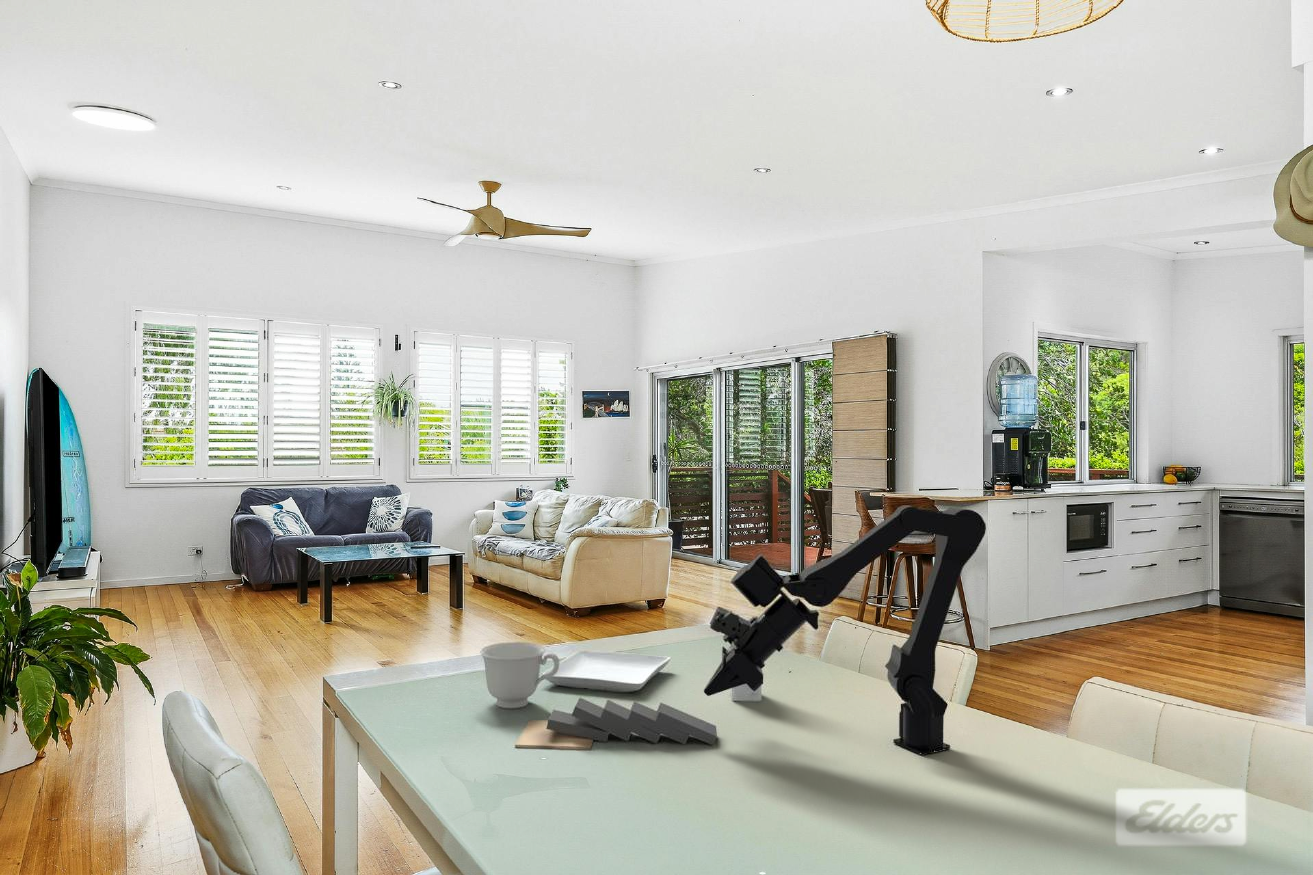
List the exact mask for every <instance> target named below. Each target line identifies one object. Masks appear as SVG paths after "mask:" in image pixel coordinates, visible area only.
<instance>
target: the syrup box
mask: <svg viewBox="0 0 1313 875" xmlns="http://www.w3.org/2000/svg"><path fill="white" fill-rule="evenodd" d="M744 619H745V620H747V621H749V620H750V619H751V618H744ZM729 644H730V643H729ZM730 646H731V644H730V645H729V647H730ZM762 685H763V684H762ZM762 685H761V686H760V687H759V688H758V689H757V690H756V691H755V692H754V691H753V690H752V689H751V688H750V687H749V686H748V685H747V684H744V685H740V686H737V687H734V688H731V689H729V690H730V692H729V693H730V697H731V700H732V701H733V702H734V701H735V702H762Z"/></svg>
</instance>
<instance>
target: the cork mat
mask: <svg viewBox="0 0 1313 875" xmlns="http://www.w3.org/2000/svg"><path fill="white" fill-rule="evenodd" d="M547 724H548V720H540V719H539V720H537V719H536V720H535V719H533V720H532V719H530V720H529V721H528V723H527V724H526V726H525V727H524V730H523V731H522V732H521V734H520V736H519V738H518V740H516V742H515V745H514V748H525V749H531V748H532V749H562V750H563V749H564V750H588V749H590V750H591V748H592V746H593V744H592V743H594V741H595V740H594V739H589V738H585V737H580V736H576V735H571V734H567V733H562V732H558V731H553V730H548V729H546V728H547ZM593 740H594V741H593Z"/></svg>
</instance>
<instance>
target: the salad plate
mask: <svg viewBox="0 0 1313 875" xmlns="http://www.w3.org/2000/svg"><path fill="white" fill-rule="evenodd" d="M670 661H671V656H664V655H663V656H662V655H661V656H660V655H652V654H651V655H649V654H640V653H629V652H628V653H627V652H611V651H596V650H595V651H593V650H578V651H576V652H574V653H573V654H571V655H569V656H568V657H566V658H564V659H563V660H561V661H559V669H558V671H557V672H556V674H555V675H554V676H552V677H550V678H547V679H545V680H546V681H548V682H549V683H552V684H554V685H558V686H563V687H567V688H575V689H576V688H577V689H584V688H588V689H587V690H594V689H598V690H597V691H604V690H607V691H606V692H615V691H622V692H621V693H631V692H637V691H640V689H642V688H643V686H645V684H647V682H648V681H649V680H651V679H652V678H653V677H654V676H656V675H657V673H659V672H660V671H661V670H663V669H664V668H665V667H666V666H667V665H668V664H669V662H670ZM553 668H554V665H553V666H552V667H550V668H549V669H546V670H545V671H544V672H542V673H541V675H542V676H543V675H545V674H547V673H549V672H551V671H552V670H553Z"/></svg>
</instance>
